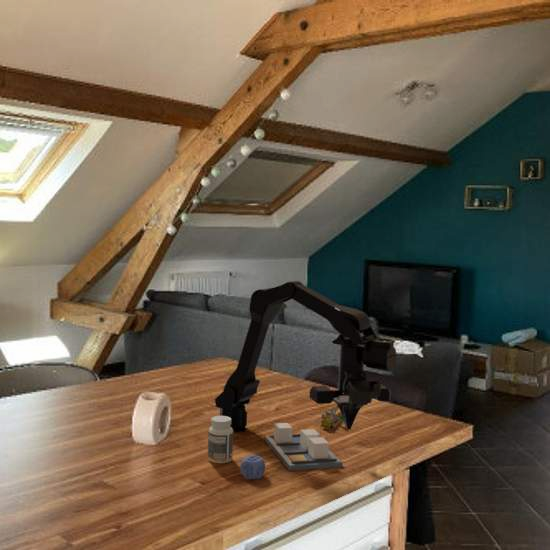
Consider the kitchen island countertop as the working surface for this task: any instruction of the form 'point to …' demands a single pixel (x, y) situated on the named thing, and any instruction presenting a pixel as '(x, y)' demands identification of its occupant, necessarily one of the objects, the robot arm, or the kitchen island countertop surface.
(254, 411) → the kitchen island countertop surface
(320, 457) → the white cube
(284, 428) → the white cube
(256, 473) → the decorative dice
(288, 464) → the dip bank
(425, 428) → the kitchen island countertop surface
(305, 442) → the white cube
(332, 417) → the toy
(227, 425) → the pill bottle
